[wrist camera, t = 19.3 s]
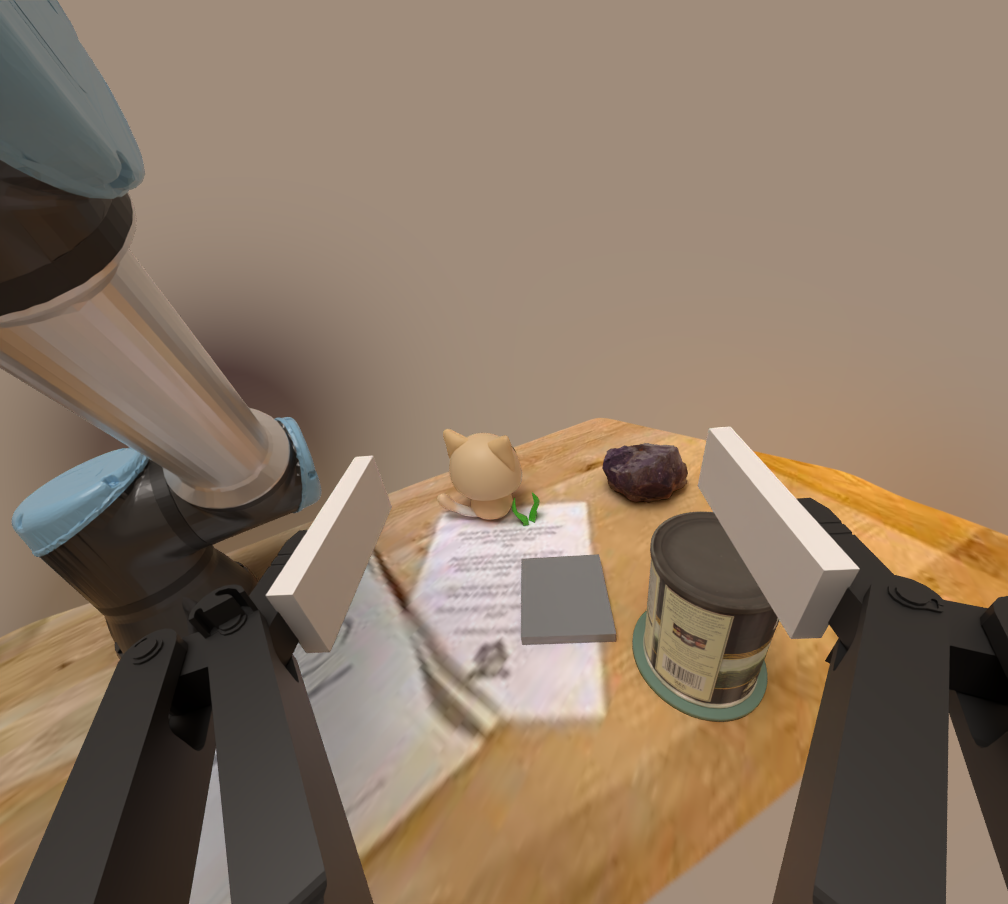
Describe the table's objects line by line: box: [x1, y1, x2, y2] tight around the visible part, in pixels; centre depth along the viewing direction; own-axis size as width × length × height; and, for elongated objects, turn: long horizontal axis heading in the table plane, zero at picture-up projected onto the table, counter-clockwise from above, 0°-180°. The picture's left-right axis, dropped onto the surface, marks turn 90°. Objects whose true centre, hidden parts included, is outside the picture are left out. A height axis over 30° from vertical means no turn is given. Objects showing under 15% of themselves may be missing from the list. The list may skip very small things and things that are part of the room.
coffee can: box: [643, 512, 779, 708], centre depth 35 cm, size 10×10×14 cm
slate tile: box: [521, 555, 616, 645], centre depth 46 cm, size 2×10×11 cm
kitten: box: [437, 429, 539, 526], centre depth 58 cm, size 15×10×15 cm, turn 67°
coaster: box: [633, 611, 767, 722], centre depth 39 cm, size 12×12×1 cm
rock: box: [602, 443, 688, 503], centre depth 59 cm, size 12×9×10 cm
